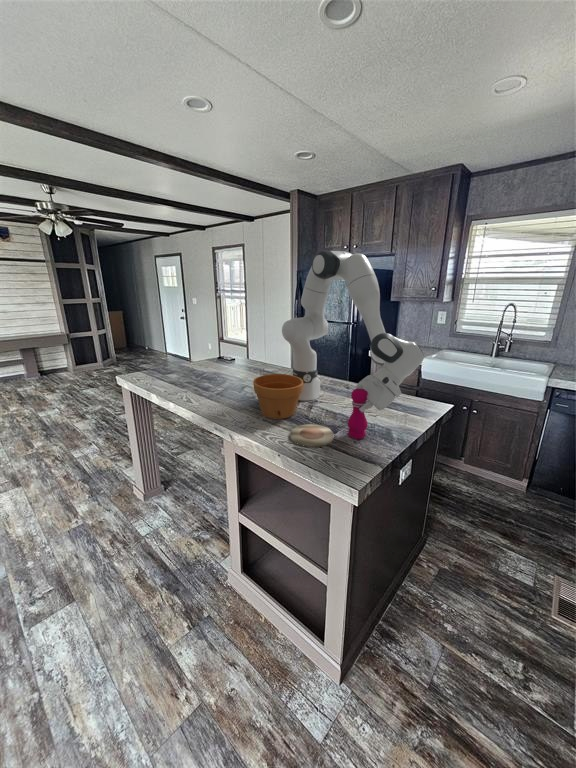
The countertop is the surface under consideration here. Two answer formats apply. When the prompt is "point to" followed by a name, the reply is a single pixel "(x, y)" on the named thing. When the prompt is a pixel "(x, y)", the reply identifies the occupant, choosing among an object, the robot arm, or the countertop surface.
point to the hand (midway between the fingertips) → (357, 407)
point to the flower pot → (278, 394)
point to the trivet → (312, 435)
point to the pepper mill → (358, 414)
